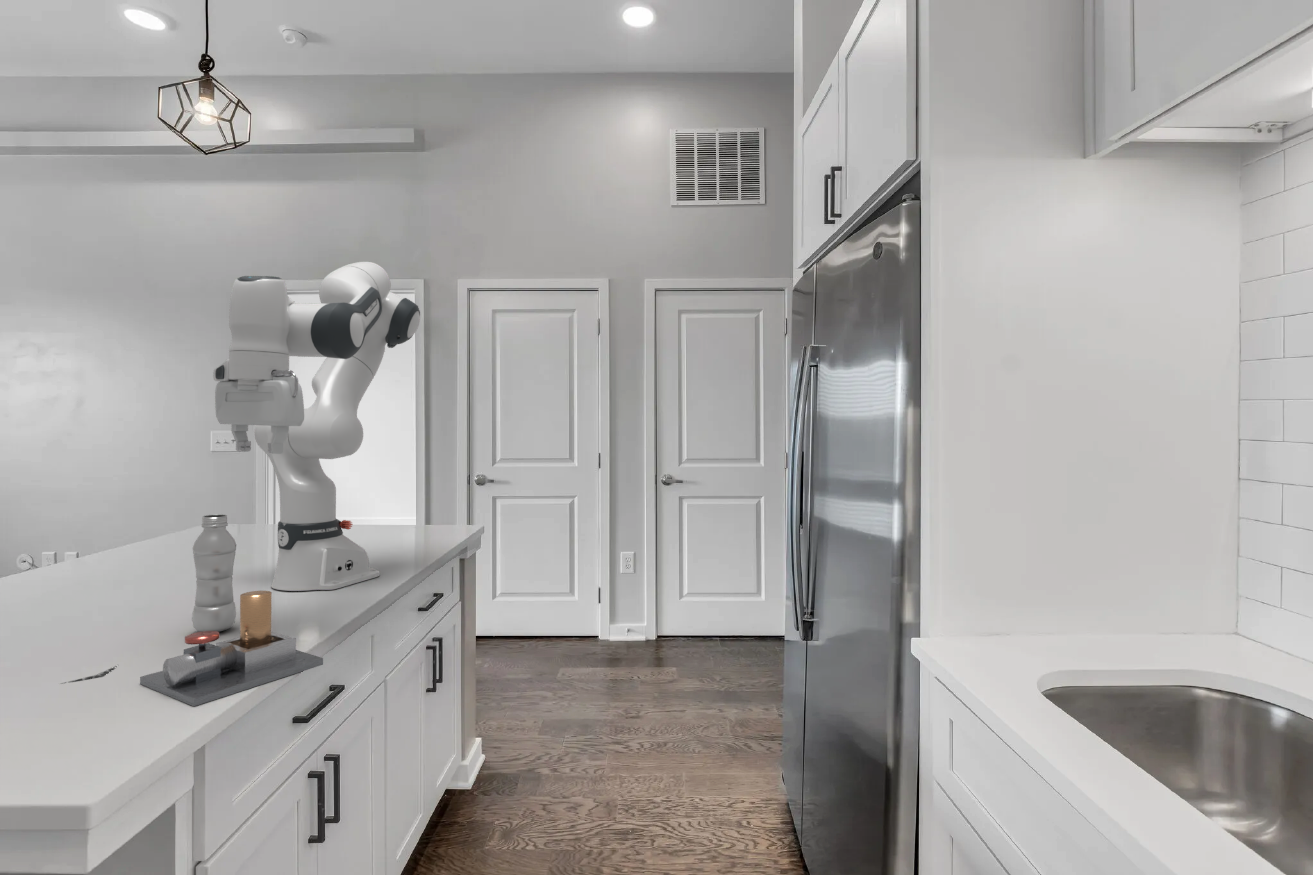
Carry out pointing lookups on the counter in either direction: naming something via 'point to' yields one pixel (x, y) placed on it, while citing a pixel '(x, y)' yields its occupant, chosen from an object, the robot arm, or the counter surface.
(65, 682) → the dark thin curved piece
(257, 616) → the pipe stub
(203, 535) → the plastic bottle
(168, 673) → the valve fitting
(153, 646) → the counter surface
